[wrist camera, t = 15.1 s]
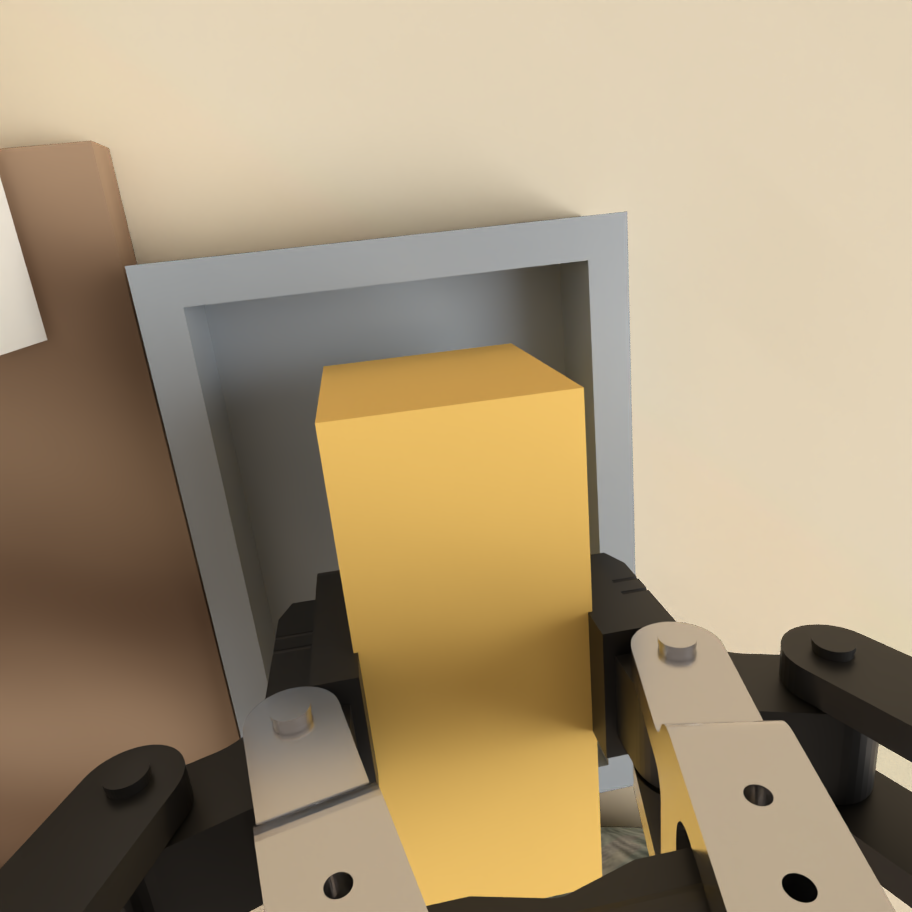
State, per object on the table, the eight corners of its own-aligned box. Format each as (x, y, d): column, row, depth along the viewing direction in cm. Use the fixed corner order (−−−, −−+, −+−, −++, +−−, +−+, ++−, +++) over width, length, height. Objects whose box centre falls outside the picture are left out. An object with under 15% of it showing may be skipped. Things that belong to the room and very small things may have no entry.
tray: (605, 720, 19) (640, 784, 17) (281, 786, 18) (272, 863, 16) (584, 215, 15) (626, 211, 13) (159, 262, 14) (124, 266, 12)
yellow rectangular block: (538, 725, 16) (602, 885, 12) (385, 755, 16) (400, 930, 12) (510, 343, 13) (584, 387, 9) (323, 366, 13) (314, 423, 9)
